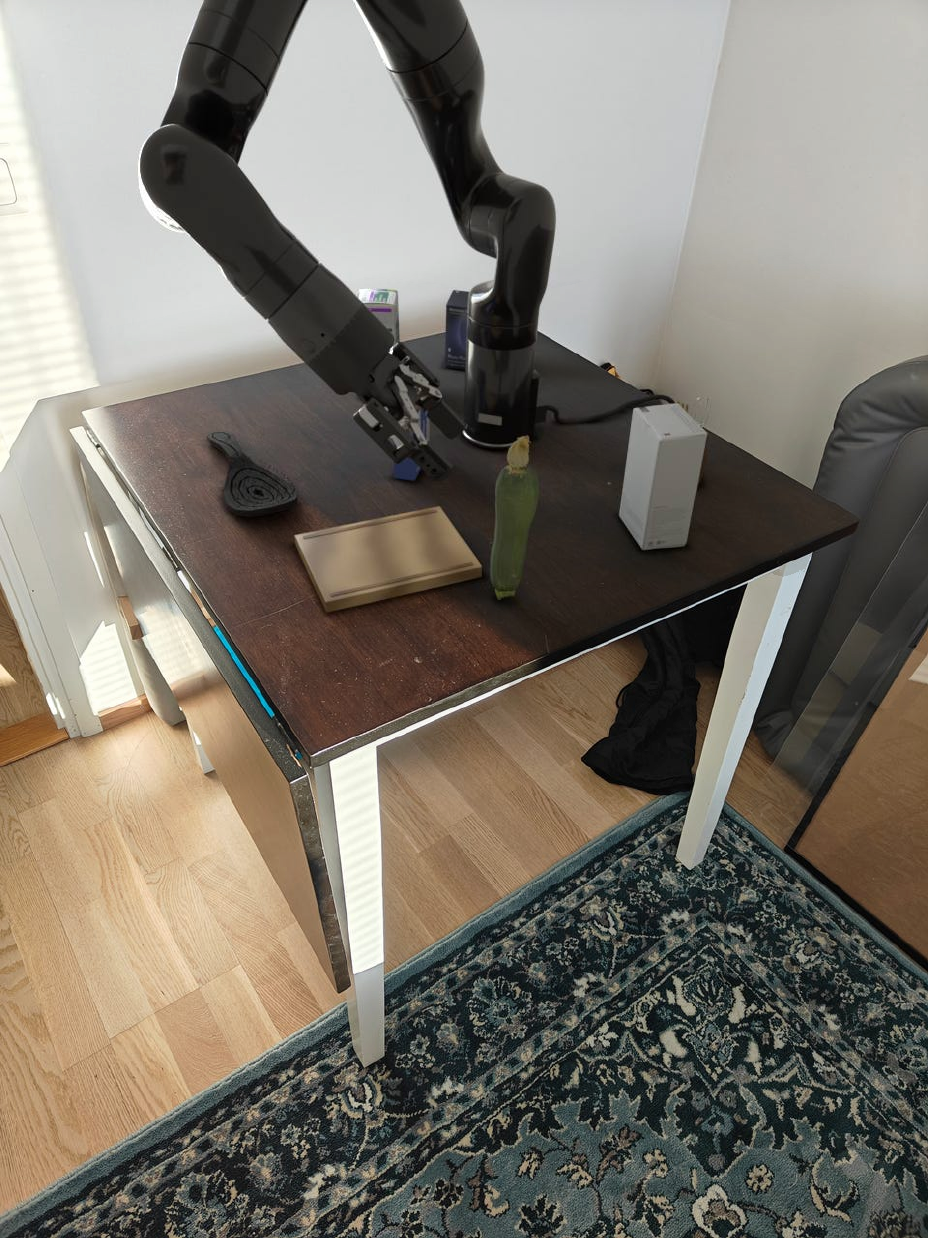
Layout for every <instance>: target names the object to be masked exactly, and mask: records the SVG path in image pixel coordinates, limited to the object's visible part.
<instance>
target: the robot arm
mask: <svg viewBox="0 0 928 1238" xmlns="http://www.w3.org/2000/svg"><path fill="white" fill-rule="evenodd" d="M309 1H310V0H203V1H202V3H201V5H200V8H199V10H198V13H197V15H196V18H195V19H194V23H193V26H192V27H191V31H190V32H189V35H188V38H187V41H186V43H185V47H184V49H183V51H182V54H181V58H180V61H179V65H178V69H177V74H176V81H175V86H174V91H173V94H172V97H171V99H170V102H169V104H168V107H167V109H166V111H165V113H164V115H163V118H162V121H161V123H160V125H159V128H157V129H155V130H154V131H153V132H152V133H151V134H150V135H149V136H148V137H147V138H146V140H145V141H144V143H143V145H142V147H141V150H140V153H139V159H138V183H139V190H140V194H141V198H142V200H143V202H144V205H145V207H146V208H147V210H148V211H149V213H150V215H151V216H153V218H154V219H155V220H156V221H158V223H160V224H161V225H162V226H164V227H166V228H167V229H169V230H171V231H175V232H178V233H184V234H187V235H188V236H189V237H190V238H191V239H192V240H193V241H194V242H195V243H196V244H197V245H198V246H199V247H200V248H201V249H202V250H203V251H204V252H205V253H206V254H207V255H208V256H210V257H211V258H212V260H213V261H214V262H215V263H216V264H217V265H218V266H219V269H220V270H221V273H222V274H223V277H224V278H225V280H226V281H227V282H228V284H229V285H230V286H231V287H232V288H233V289H234V291H235V292H236V293H237V294H238V295H239V296H240V297H241V298H242V299H243V300H244V301H245V302H246V303H247V304H248V305H249V306H250V307H252V309H253V310H255V312H256V313H258V315H260V317H262V318H263V320H265V321H266V323H268V325H269V326H270V327H271V328H272V330H274V331H275V333H276V334H277V336H278V337H279V338H280V339H281V340H282V341H283V343H284V344H285V345H286V346H287V347H288V348H289V349H290V350H291V351H292V352H293V353H294V354H295V355H296V356H297V357H298V358H299V359H300V360H301V361H303V363H304V364H305V365H306V366H307V367H308V368H309V369H310V370H312V371H313V372H314V373H315V374H316V376H317V377H319V378H320V380H322V382H324V383H325V384H326V385H327V386H328V387H329V388H330V389H331V390H332V391H333V392H334V393H335V394H336V395H339V396H346V395H347V394H349V393H354V394H355V395H356V396H357V397H358V399H359V400H360V402H361V403H362V405H363V406H362V407H360V408H359V409H358V410H357V411H356V412H355V413H354V414H353V415H352V418H353V420H354V422H355V423H356V424H357V425H358V426H359V428H361V429H362V431H364V432H365V433H366V434H367V436H368V437H370V438H371V439H372V441H373V442H374V443H375V444H376V445H377V446H378V447H379V448H380V449H381V450H382V451H383V452H384V453H385V454H386V455H387V456H388V458H390V459H391V460H392V461H393V463H394V462H395V463H397V464H400V463H401V462H402V461H404V460H405V459H408V458H410V459H412V460H413V461H414V462H415V463H416V464H417V465H418V466H419V467H420V468H421V470H422V471H423V472H424V473H425V474H426V475H427V476H428V477H429V478H430V479H431V480H432V481H434V482H435V483H437V484H440V483H441V482H443V481H444V480H446V479H447V478H449V476H452V473H453V471H454V465H453V464H452V463H451V462H450V461H449V460H448V459H447V458H446V457H445V455H443V454H442V453H441V452H440V451H439V450H438V449H437V448H436V447H435V446H434V445H433V444H432V443H431V442H430V440H429V441H426V439H425V437H424V435H423V433H422V431H421V429H420V427H419V425H418V422H419V415H418V413H417V412H416V410H415V408H416V409H418V410H420V411H422V412H425V411H426V410H427V412H426V416H427V417H428V418H429V419H430V422H431V423H432V424H433V425H434V426H435V427H436V428H437V429H438V430H439V431H440V432H441V433H442V434H443V436H445V437H446V438H447V439H448V440H454V439H455V438H457V436H460V434H461V433H462V437H463V438H464V439H465V440H466V441H467V442H468V443H470V444H472V445H474V446H476V447H478V448H482V449H488V450H509V448H510V447H511V445H512V444H514V442H515V441H517V440H518V438H520V437H522V436H529V440H530V439H531V440H532V439H534V438H535V437H534V436H535V427H536V424H539V423H546V422H547V415H548V411H549V412H552V413H553V417H554V420H555V422H557V423H558V424H561V425H569V424H585V423H590V422H594V421H597V420H602V419H605V418H609V417H612V416H614V415H616V414H618V413H620V412H622V411H623V410H625V409H627V408H629V407H632V406H635V405H640V404H643V403H647V402H652V401H655V400H663V401H666V402H667V404H676V402H675V400H674V399H673V398H671V397H670V396H669V395H666V394H653V395H648V396H644V397H641V398H636V399H632V400H629V401H626V402H624V403H622V404H620V405H619V406H617V407H615V408H613V409H611V410H609V411H606V412H602V413H598V414H594V415H591V416H587V417H583V418H579V419H565V418H562V417H560V412H559V410H558V408H557V407H555V406H554V405H550V404H547V403H546V402H545V401H544V400H543V399H542V398H541V397H540V396H539V386H540V374H539V372H538V371H536V369H535V362H536V352H537V351H536V350H537V341H538V339H537V338H538V330H539V329H538V328H539V319H540V318H539V317H540V310H541V306H542V305H541V304H542V302H543V300H544V297H545V295H546V292H547V288H548V285H549V277H550V271H551V265H552V264H551V263H552V256H553V251H554V250H553V249H554V244H555V236H556V228H557V210H556V203H555V200H554V198H553V195H552V194H551V192H550V191H549V189H547V188H546V187H545V186H543V185H541V184H539V183H536V182H533V181H530V180H526V179H525V178H524V179H523V178H520V177H517V176H514V175H510V174H507V173H506V172H504V170H502V168H501V167H500V166H499V164H498V163H497V161H496V159H495V157H494V156H493V154H492V151H491V148H490V146H489V144H488V142H487V139H486V137H485V134H484V131H483V126H482V112H483V106H484V105H483V104H484V98H485V88H486V71H485V65H484V60H483V56H482V53H481V49H480V46H479V44H478V42H477V38H476V36H475V34H474V31H473V29H472V26H471V23H470V21H469V18H468V16H467V12H466V10H465V8H464V6H463V3H462V1H461V0H352V1H353V3H354V5H355V8H357V11H358V13H359V14H360V16H361V18H362V20H363V23H364V24H365V27H366V28H367V30H368V32H369V34H370V36H371V39H372V40H373V43H374V44H375V47H376V49H377V51H378V53H379V56H380V58H381V61H382V62H383V65H384V67H385V69H386V71H387V73H388V76H389V77H390V80H391V81H392V83H393V85H394V88H395V89H396V92H397V93H398V95H399V97H400V99H401V101H402V103H403V104H404V106H405V108H406V110H407V112H408V114H409V116H410V118H411V121H412V122H413V124H414V127H415V129H416V131H417V134H418V135H419V137H420V139H421V141H422V144H423V146H424V148H425V150H426V152H427V153H428V155H429V158H430V159H431V162H432V164H433V166H434V168H435V171H436V173H437V176H438V178H439V182H440V184H441V186H442V190H443V192H444V195H445V198H446V200H447V205H448V207H449V210H450V212H451V215H452V218H453V221H454V224H455V226H456V228H457V230H458V233H459V235H460V236H461V238H462V239H463V241H464V242H465V243H466V244H467V245H468V246H469V247H470V248H471V249H472V250H473V251H475V252H478V253H479V254H482V255H484V256H488V257H490V258H492V259H495V261H496V262H495V269H494V276H493V279H490V280H487V281H483V282H479V283H477V284H475V285H474V286H472V288H471V289H470V290H469V291H468V292H469V295H468V308H467V339H466V364H465V370H464V390H463V391H464V393H463V394H464V395H463V414H462V415H463V416H462V418H460V416H459V415H458V414H457V413H456V412H455V411H454V410H453V409H452V408H451V407H450V406H449V405H448V404H447V403H446V402H445V400H444V399H442V398H443V395H442V392H441V391H440V389H439V387H440V386H441V381H440V379H439V377H437V376H436V375H435V374H434V373H433V372H432V371H431V370H430V368H428V367H427V366H426V365H425V364H424V363H423V362H422V361H421V360H420V359H419V358H418V356H416V355H415V354H414V353H413V352H412V351H411V350H410V349H409V348H408V347H407V346H406V345H405V344H404V342H402V341H400V342H398V343H397V344H396V345H394V346H393V344H394V336H393V334H392V333H391V332H390V331H389V330H388V329H387V328H386V327H385V326H384V325H383V323H382V322H381V321H380V320H379V319H378V318H377V317H376V316H375V315H374V314H373V313H372V312H371V311H370V310H369V309H368V308H367V307H366V306H365V305H364V303H363V302H362V301H361V300H360V299H359V298H358V297H357V296H358V295H356V294H355V293H354V292H353V291H352V290H351V289H350V287H349V286H347V284H346V283H345V282H344V281H343V280H342V279H341V278H339V276H337V275H336V274H334V273H333V272H332V271H331V270H329V268H327V267H326V266H325V265H324V264H323V263H322V262H320V259H318V258H317V257H316V256H315V255H314V254H313V253H312V252H311V250H309V249H308V247H307V246H306V245H305V244H304V243H303V242H302V241H301V240H300V239H299V238H298V237H297V236H296V235H295V234H294V233H293V232H292V231H291V230H290V229H289V228H287V227H286V226H285V224H283V223H282V222H281V221H280V219H278V217H277V216H276V214H275V213H274V212H273V210H272V209H271V207H270V206H269V205H268V203H267V202H266V200H265V199H264V198H263V196H262V195H261V193H259V191H258V190H257V189H256V187H255V186H254V184H253V183H252V182H251V180H250V179H249V177H248V176H247V175H246V173H244V171H243V170H242V169H241V167H240V166H239V163H240V161H241V157H242V154H243V152H244V148H245V145H246V142H247V139H248V137H249V134H250V132H251V130H252V129H253V126H254V125H255V123H256V122H257V119H258V118H259V116H260V114H261V112H262V110H263V108H264V106H265V104H266V102H267V99H268V97H269V94H270V92H271V90H272V87H273V84H274V82H275V79H276V77H277V74H278V72H279V69H280V67H281V64H282V62H283V60H284V57H285V54H286V51H287V50H288V47H289V44H290V42H291V40H292V38H293V36H294V32H295V30H296V28H297V25H298V24H299V22H300V19H301V17H302V16H303V12H304V11H305V8H306V7H307V5H308V3H309ZM392 346H393V347H392ZM418 374H421V375H422V376H423V377H422V376H420V375H418ZM408 429H409V431H410V433H411V435H412V437H413V438H412V437H411V436H410V434H409V433H408V432H407V430H408ZM389 439H392V441H393V443H392V442H391V441H390V440H389ZM394 442H395V444H396V446H397V449H396V448H395V447H394Z"/></svg>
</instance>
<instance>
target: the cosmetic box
mask: <svg viewBox="0 0 928 1238" xmlns="http://www.w3.org/2000/svg"><path fill="white" fill-rule="evenodd" d="M681 406H682V405H681V403H680V404H678V403H677V402H675V404H670V403H666V404H665V403H664V404H657V405H648V406H642V407H635V408H633V410H632V418H631V425H630V432H629V440H628V447H627V454H626V461H625V462H626V463H625V469H624V476H623V482H622V483H623V484H622V492H621V498H620V499H621V500H620V504H619V505H620V506H619V512H618V516H619V518H620V520H621V521H622V522H623V524H624V525H625V526H626V528H627V530H628V531H629V532H630V534H631V535H632V537H633V538H634V540H635V541H636V542H637V544H638V545H639V547H640V549H641V550H642V551H648V550H656V549H669V548H679V547H685V546H686V545H687V542H688V537H689V531H690V526H691V522H692V515H693V510H694V507H695V501H696V495H697V489H698V485H699V483H698V479H699V474H700V469H701V463H702V458H703V453H704V448H705V443H706V438H707V434H708V435H709V432H708V433H707V432H706V431H705V430H704V429H703V428H702V427H701V426H702V425H701V424H700V423H698V422H697V421H696V420H694V419H695V418H693V417H692V415H691V414H689V412H688V413H687V412H686V411H685V410H686V409H685V408H684V409H683V408H682V407H681ZM690 415H691V416H690ZM699 424H700V425H699Z"/></svg>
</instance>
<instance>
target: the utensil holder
mask: <svg viewBox="0 0 928 1238" xmlns="http://www.w3.org/2000/svg"><path fill="white" fill-rule="evenodd" d="M700 399H701V400H700ZM704 399H706V403H708V402H709V403H710V404H709V410H708V411H709V412H708V415H707V418H706V420H705V421H704V423H703V425H701V423H702V420H703V417H704V416H705V412H706V409H707V405H708V404H705V407H704V410H703V414H702V416H701V420H700V422H699V423H698V424H699V425H700V426H701V427H702V428H703V429H704V430H705V431H706V432H707V433H708V434H707V438H706V443H705V448H704V453H703V458H702V463H701V469H700V474H699V479H698V484H699V483H700V482H701V480H702V479H703V475H704V471H705V468H706V467H705V466H706V462H707V458H708V451H709V450H708V445H707V444H708V442H709V431H708V429H707V428H706V427H704V425H705V424H706V423H707V421H708V418H709V415H710V414H711V413H710V412H711V409H712V402H711V399H710V398H708V397H707V396H699V397H698V400H700V403H699V404H698V407H697V409H696V412H695V416H694V418H693V419H694V420H695V421H696V418H697V415H698V411H699V408H700V405H701V404H702V401H704ZM676 403H678V404H680V406H681V407H682V408H683V409H684V410H685V411H686V412H687V413H688V414H689V404H688V403H687V404H685V402H680V400H677V402H676ZM696 403H697V400H695V402H694V404H693V406H692V408H691V412H690V414H689V415H690V416H691V417H692V414H693V410H694V407H695V404H696Z"/></svg>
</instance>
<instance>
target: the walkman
mask: <svg viewBox="0 0 928 1238" xmlns="http://www.w3.org/2000/svg"><path fill="white" fill-rule="evenodd" d="M418 375H420V376H422V375H421V374H418ZM422 377H423V376H422ZM415 410H416V412H417V413H418V415H419V422H418V425H419V427H420V429H421V431H422V433H423V435H424V437H425V439H426V441H429V442H430V431H431V429H430V428H431V424H430V422H431V421H430V419H429V418H428V417H427V416H426V412H427V410H426V411H425V412H422V411H420V410H418V409H416V408H415ZM407 432H408V433H409V434H410V436H411V437H412V435H411V433H410V431H409V429H408V430H407ZM412 438H413V437H412ZM393 446H394V447H395V448H396V449H397V446H396V444H395V442H394V441H393ZM421 470H422V469H421V468H420V467H419V466H418V465H417V464H416V463H415V462H414V461H413V460H412V459H410V458H408V459H405V460H404V461H402V462H401V463H400V464H397V463H395V462H394V461H393V476H394V479H400V480H405V481H413V482H415V481H416V479H417V477H418V475H419V473H420V472H421Z"/></svg>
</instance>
